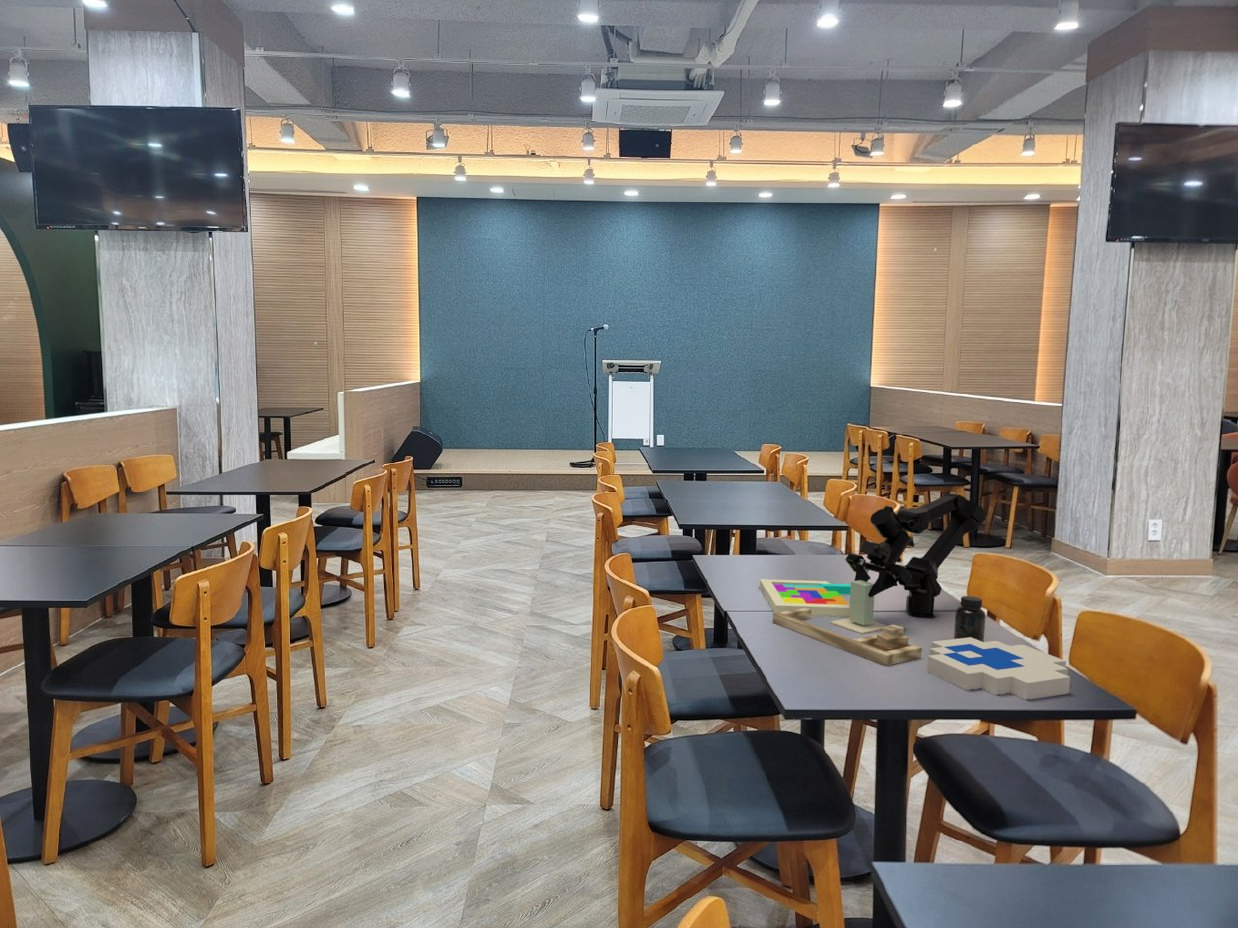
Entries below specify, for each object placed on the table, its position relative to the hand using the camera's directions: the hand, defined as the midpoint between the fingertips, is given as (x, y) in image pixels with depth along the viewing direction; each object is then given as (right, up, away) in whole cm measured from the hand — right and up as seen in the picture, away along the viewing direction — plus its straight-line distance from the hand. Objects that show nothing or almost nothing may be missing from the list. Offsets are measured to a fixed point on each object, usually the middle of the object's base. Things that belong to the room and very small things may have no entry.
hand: (861, 593), depth 222 cm
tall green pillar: (0, -8, +1) cm, 8 cm away
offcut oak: (+2, -9, -21) cm, 22 cm away
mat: (0, -9, +1) cm, 9 cm away
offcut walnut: (+1, -11, -20) cm, 23 cm away
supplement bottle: (+23, -11, -13) cm, 28 cm away
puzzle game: (-6, -7, +24) cm, 26 cm away
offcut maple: (+2, -7, -21) cm, 22 cm away
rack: (-8, -10, -11) cm, 17 cm away
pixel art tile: (+21, -13, -33) cm, 41 cm away
